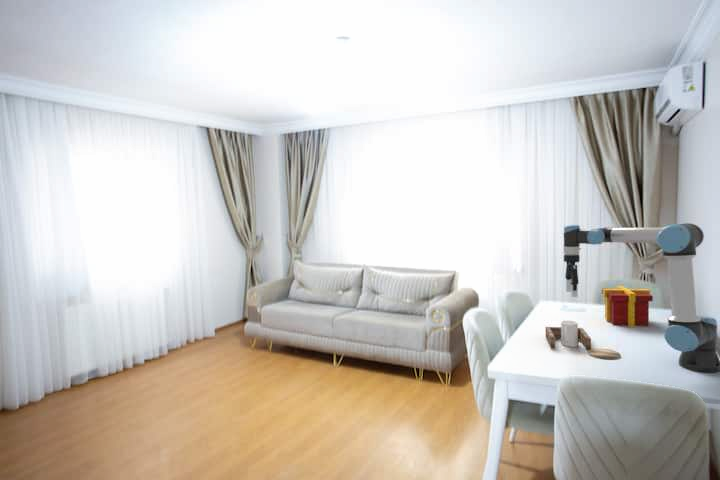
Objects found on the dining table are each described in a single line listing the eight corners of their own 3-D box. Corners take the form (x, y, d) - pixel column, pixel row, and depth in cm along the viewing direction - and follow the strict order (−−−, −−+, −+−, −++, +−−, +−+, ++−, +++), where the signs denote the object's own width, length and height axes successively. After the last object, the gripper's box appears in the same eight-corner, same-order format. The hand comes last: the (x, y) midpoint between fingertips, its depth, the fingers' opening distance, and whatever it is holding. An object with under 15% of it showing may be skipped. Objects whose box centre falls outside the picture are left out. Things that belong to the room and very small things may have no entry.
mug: (572, 349, 228) (572, 326, 227) (555, 346, 234) (555, 324, 233) (580, 344, 236) (580, 322, 235) (564, 341, 242) (564, 319, 241)
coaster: (624, 360, 210) (624, 358, 210) (591, 358, 214) (591, 356, 214) (615, 350, 223) (615, 349, 223) (585, 349, 227) (585, 347, 227)
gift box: (641, 317, 284) (642, 286, 282) (656, 328, 260) (656, 293, 258) (598, 316, 291) (598, 286, 289) (609, 326, 267) (609, 293, 265)
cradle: (591, 350, 225) (591, 338, 225) (550, 348, 231) (550, 337, 230) (582, 338, 245) (582, 327, 245) (545, 337, 250) (545, 326, 250)
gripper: (585, 257, 220) (585, 299, 221) (574, 251, 244) (574, 289, 245) (568, 257, 221) (568, 298, 223) (559, 251, 245) (559, 289, 247)
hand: (571, 294), depth 234 cm, fingers open, 13 cm apart
